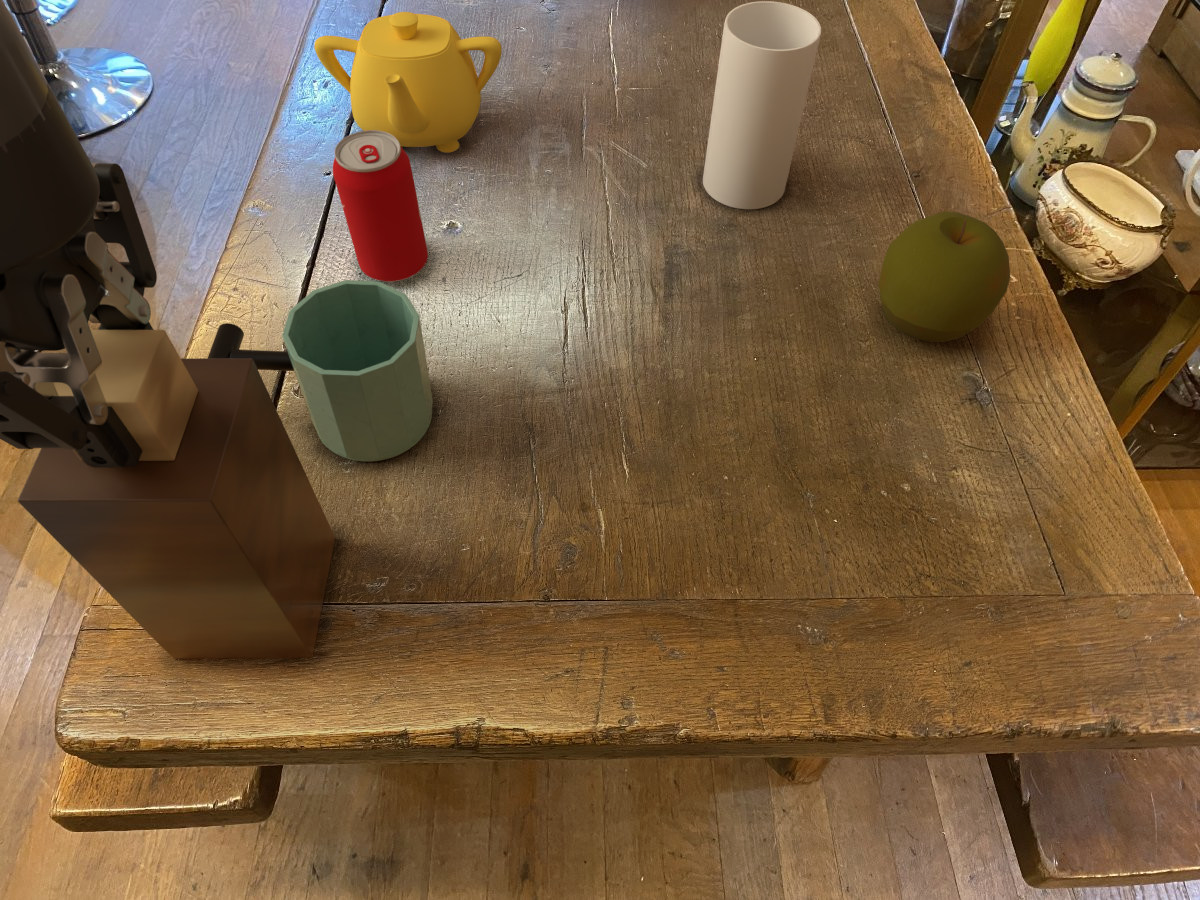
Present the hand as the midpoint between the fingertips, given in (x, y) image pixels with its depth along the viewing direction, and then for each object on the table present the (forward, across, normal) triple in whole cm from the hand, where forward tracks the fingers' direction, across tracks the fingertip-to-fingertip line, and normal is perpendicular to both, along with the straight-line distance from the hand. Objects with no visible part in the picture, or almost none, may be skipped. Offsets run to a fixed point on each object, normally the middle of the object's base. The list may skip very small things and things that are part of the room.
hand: (136, 417), depth 42 cm
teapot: (+20, -52, +4) cm, 56 cm away
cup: (+20, -46, +38) cm, 62 cm away
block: (+1, 0, 0) cm, 1 cm away
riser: (+20, 0, 0) cm, 20 cm away
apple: (+20, -27, +51) cm, 61 cm away
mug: (+19, -16, +2) cm, 25 cm away
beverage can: (+20, -33, +4) cm, 39 cm away
